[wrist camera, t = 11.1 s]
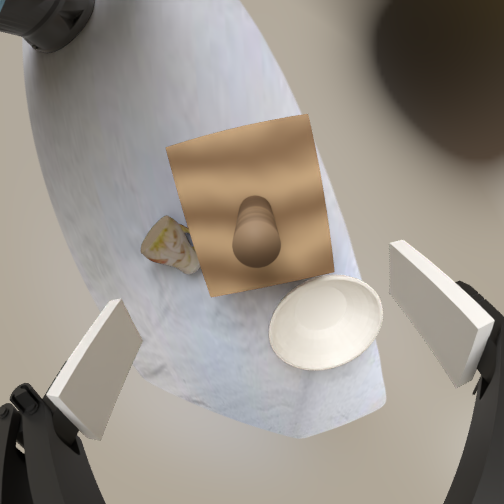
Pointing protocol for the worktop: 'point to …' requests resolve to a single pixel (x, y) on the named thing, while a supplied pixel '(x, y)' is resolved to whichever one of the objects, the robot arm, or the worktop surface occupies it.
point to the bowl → (325, 322)
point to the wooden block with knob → (254, 204)
